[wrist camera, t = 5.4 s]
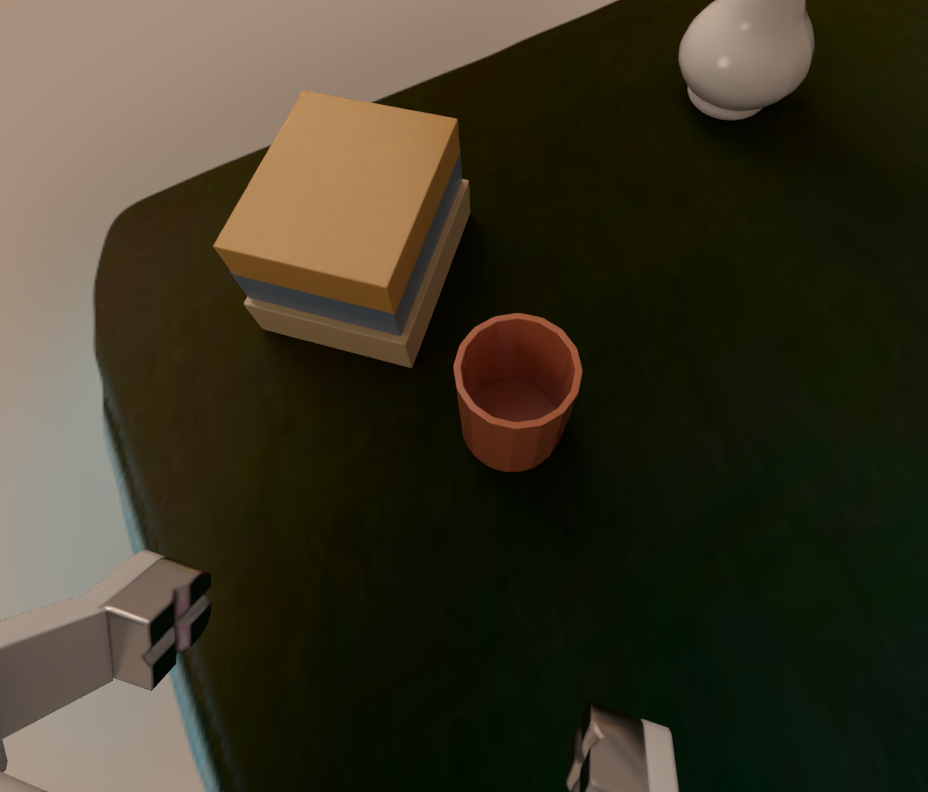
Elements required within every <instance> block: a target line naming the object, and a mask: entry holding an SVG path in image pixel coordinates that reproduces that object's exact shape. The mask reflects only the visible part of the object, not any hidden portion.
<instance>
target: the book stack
mask: <svg viewBox="0 0 928 792" xmlns="http://www.w3.org/2000/svg"><path fill="white" fill-rule="evenodd" d="M469 215H470V196H469V181H468V180H464V179H462V170H461V153H460V147H459V134H458V120H457V119H455V118H450V117H444V116H439V115H433V114H428V113H423V112H417V111H412V110H407V109H401V108H396V107H391V106H385V105H380V104H375V103H369V102H364V101H358V100H353V99H348V98H342V97H337V96H331V95H326V94H321V93H315V92H310V91H305V90H304V91H302V93H301V95H300V96H299V98H298V100H297V102H296V103H295V105H294V107H293V109H292V110H291V112H290V114H289V116H288V117H287V119H286V121H285V123H284V124H283V126H282V128H281V129H280V131H279V133H278V135H277V136H276V138H275V140H274V141H273V143H272V145H271V147H270V148H269V150H268V152H267V154H266V155H265V157H264V159H263V160H262V162H261V164H260V166H259V167H258V169H257V171H256V173H255V174H254V176H253V178H252V180H251V181H250V183H249V185H248V187H247V188H246V190H245V192H244V193H243V195H242V197H241V199H240V200H239V202H238V204H237V206H236V207H235V209H234V211H233V213H232V214H231V216H230V218H229V219H228V221H227V223H226V225H225V226H224V228H223V230H222V232H221V233H220V235H219V237H218V239H217V240H216V242H215V244H214V246H213V247H214V248H215V250H216V251H217V252H218V254H219V255H220V257H221V258H222V259H223V261H224V262H225V263H226V265H227V266H228V268H229V269H230V273H231V274H232V276H233V277H234V278H235V280H236V281H237V282H238V284H239V285H240V286H241V288H242V289H243V290H244V292H245V293H246V295H247V296H248V297H247V299H246V300H245V302H244V305H245V307H246V308H247V309H248V311H249V312H250V313H251V314H252V316H253V317H254V318H255V320H256V321H257V322H258V324H259V325H260V326H261V327H262V329H264V330H268V331H272V332H275V333H279V334H283V335H287V336H291V337H295V338H298V339H302V340H306V341H310V342H314V343H318V344H321V345H325V346H329V347H333V348H337V349H341V350H344V351H348V352H352V353H356V354H360V355H363V356H367V357H371V358H375V359H379V360H383V361H386V362H390V363H394V364H398V365H402V366H406V367H409V368H412V367H413V365H414V362H415V359H416V357H417V354H418V351H419V349H420V346H421V343H422V341H423V338H424V335H425V333H426V330H427V327H428V325H429V322H430V319H431V316H432V314H433V311H434V308H435V306H436V303H437V300H438V298H439V295H440V292H441V290H442V287H443V284H444V282H445V279H446V276H447V274H448V271H449V268H450V266H451V263H452V260H453V258H454V255H455V252H456V250H457V247H458V244H459V242H460V239H461V236H462V234H463V231H464V228H465V226H466V223H467V220H468V217H469Z"/></svg>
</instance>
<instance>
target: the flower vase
mask: <svg viewBox="0 0 928 792" xmlns="http://www.w3.org/2000/svg"><path fill="white" fill-rule="evenodd" d="M814 48H815V46H814V34H813V27H812V24H811V21H810V19H809V16H808V14H807V11H806V0H715V1H714V2H712V3H711V4H709V5H708V6H707V7H706V8H705V9H704V10H702V11H701V12H700V13H699V15H698V16H697V17H696V18H695V19H694V20H693V21H692V22H691V24H690V25H689V27H688V28H687V30H686V32H685V34H684V37H683V39H682V41H681V43H680V46H679V67H680V69H681V72H682V75H683V78H684V80H685V82H686V84H687V85H688V95H689V98H690V100H691V102H692V103H693V104H694V106H695V107H696V108H698V109H699V110H700V111H701V112H703V113H705V114H707V115H709V116H711V117H714V118H717V119H721V120H731V121H732V120H742V119H745V118H748V117H751V116H753V115H755V114H756V113H758V112H759V111H760V110H761V109H762V108H763V107H766V106H769V105H772V104H774V103H776V102H778V101H779V100H781V99H783V98H784V97H786V96H787V95H789V94H791V93H792V92H793V91H794V90H795V89H796V88H797V87H798V86H799V85H800V83H801V82H802V81H803V80H804V78H805V77H806V75H807V73H808V70H809V67H810V64H811V61H812V58H813V54H814Z"/></svg>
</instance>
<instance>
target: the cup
mask: <svg viewBox="0 0 928 792" xmlns="http://www.w3.org/2000/svg"><path fill="white" fill-rule="evenodd" d="M453 368H454V375H455V382H456V389H457V397H458V404H459V411H460V418H461V425H462V432H463V437H464V439H465V442H466V444H467V446H468V448H469V449H470V451H471V452H472V454H473V455H474V456H475V457H476V458H477V459H478V460H480V461H481V462H482V463H484V464H485V465H487V466H489V467H491V468H493V469H496V470H500V471H505V472H520V471H525V470H528V469H531V468H534V467H536V466H538V465H539V464H541V463H542V462H544V461H545V460H546V459H547V458H548V457H549V456H550V455H551V454H552V452H553V451H554V449H555V448H556V446H557V444H558V443H559V441H560V439H561V436H562V433H563V431H564V428H565V426H566V423H567V421H568V418H569V416H570V413H571V410H572V408H573V405H574V403H575V400H576V398H577V395H578V392H579V387H580V382H581V377H582V366H581V362H580V358H579V354H578V350H577V348H576V347H575V345H574V344H573V343H572V341H571V340H570V339H569V337H568V336H567V335H566V334H565V332H564V331H563V330H562V329H560V328H559V327H557V326H555V325H554V324H552V323H550V322H549V321H547V320H545V319H544V318H542V317H537V316H531V315H526V314H521V313H515V314H508V315H501V316H495V317H493V318H491V319H489V320H487V321H486V322H484V323H482V324H480V325H478V326H476V327H475V328H474V329H473V330H472V331H471V332H470V333H469V335H468V336H467V337H466V338H465V339H464V341H463V342H462V343H461V344H460V346H459V349H458V353H457V356H456V359H455V363H454V367H453Z"/></svg>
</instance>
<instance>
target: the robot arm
mask: <svg viewBox="0 0 928 792" xmlns="http://www.w3.org/2000/svg"><path fill="white" fill-rule="evenodd" d="M210 587H211V575H210V574H209V573H207V572H205V571H203V570H200V569H197V568H195V567H192V566H189V565H187V564H184V563H181V562H179V561H176V560H173V559H171V558H168V557H165V556H162V555H159V554H156V553H154V552H151V551H148V550H144V551H141V552H138V553H136V554H135V555H133V556H132V557H131V558H130V559H128V560H127V561H126V562H125V563H123V564H122V565H121V566H120V567H118V568H117V569H116V570H114V571H113V572H112V573H111V574H109V575H108V576H107V577H106V578H104V579H103V580H102V581H100V582H99V583H98V584H97V585H95V586H94V587H93V588H92V589H90V590H89V591H88V592H86V593H85V594H84V595H83V596H81V597H80V598H79V599H78V600H76V599H72V598H69V599H66V600H63V601H60V602H56V603H53V604H50V605H47V606H44V607H41V608H38V609H35V610H32V611H28V612H25V613H22V614H19V615H16V616H13V617H10V618H6V619H4V620H0V792H47V791H45V790H42V789H40V788H38V787H35V786H33V785H31V784H28V783H26V782H23V781H21V780H19V779H16V778H14V777H12V776H9V775H7V774H5V773H3V772H4V771H5V770H6V767H7V757H6V753H5V748H4V744H3V740H2V739H3V738H5V737H7V736H9V735H11V734H13V733H15V732H16V731H19V730H20V729H22V728H24V727H26V726H28V725H30V724H32V723H33V722H36V721H37V720H39V719H41V718H43V717H45V716H47V715H49V714H51V713H52V712H54V711H56V710H58V709H60V708H62V707H64V706H66V705H68V704H70V703H71V702H73V701H75V700H77V699H79V698H81V697H83V696H85V695H87V694H88V693H90V692H92V691H94V690H96V689H98V688H100V687H102V686H104V685H105V684H107V683H109V682H111V681H113V678H115V679H118V680H121V681H124V682H127V683H130V684H133V685H136V686H139V687H142V688H144V689H147V690H150V691H152V690H153V689H154V688H155V686H157V684H158V683H159V682H160V681H161V680H162V679H163V678H164V677H165V675H166V674H167V673H168V672H169V671H170V670H171V669H172V668H173V667H174V665H175V664H176V656H177V653H178V652H180V651H182V650H185V649H187V648H189V647H191V646H192V645H193V644H194V643H195V642H196V640H197V639H198V638H199V637H200V636H201V634H202V632H203V630H204V629H205V627H206V625H207V623H208V621H209V617H210V613H211V601H210V599H209V598H208V596H207V594H206V593H205V592H206V591H207V590H208V589H209V588H210ZM566 785H567V787H568V789H569V791H570V792H679V788H678V780H677V773H676V765H675V758H674V750H673V743H672V735H671V732H670V730H669V728H667V727H664V726H661V725H658V724H655V723H652V722H649V721H646V720H643V719H640V718H639V717H635V716H632V715H629V714H626V713H623V712H620V711H617V710H614V709H611V708H608V707H605V706H602V705H599V704H596V703H593V702H590V701H589V702H588V703H587V705H586V706H585V709H584V711H583V714H582V727H580V728H578V729H576V731H575V734H574V737H573V739H572V742H571V747H570V751H569V755H568V762H567V770H566Z"/></svg>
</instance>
